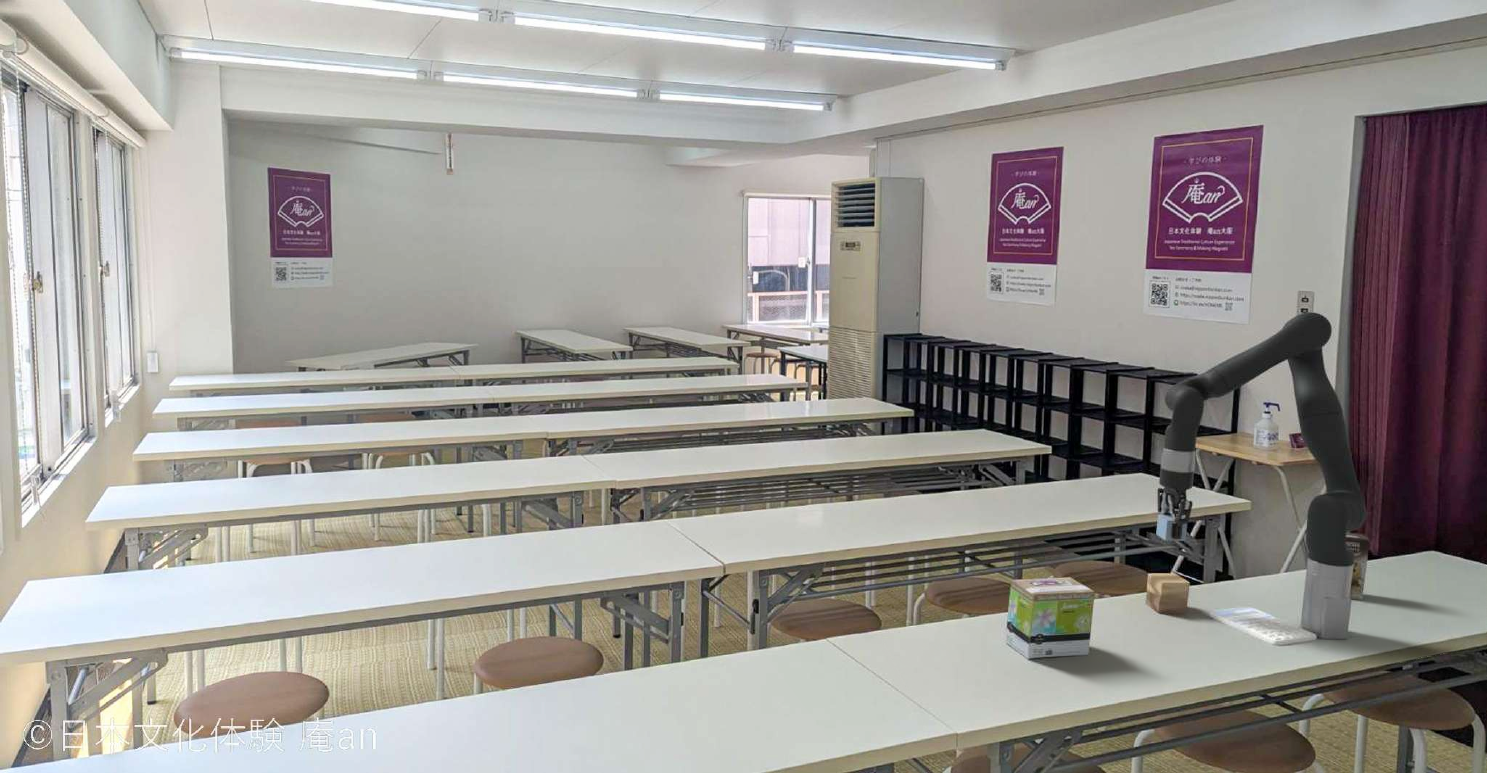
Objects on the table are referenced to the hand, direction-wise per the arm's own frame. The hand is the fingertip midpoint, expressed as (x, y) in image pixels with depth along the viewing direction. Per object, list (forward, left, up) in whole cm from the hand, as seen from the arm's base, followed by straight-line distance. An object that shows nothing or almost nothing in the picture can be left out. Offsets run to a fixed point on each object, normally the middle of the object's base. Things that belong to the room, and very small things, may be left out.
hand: (1170, 534), depth 252 cm
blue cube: (0, 0, -1) cm, 1 cm away
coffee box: (+12, -53, -19) cm, 57 cm away
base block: (-1, 0, -19) cm, 19 cm away
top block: (-1, 0, -15) cm, 15 cm away
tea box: (-27, +39, -19) cm, 51 cm away
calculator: (-13, -18, -19) cm, 29 cm away
